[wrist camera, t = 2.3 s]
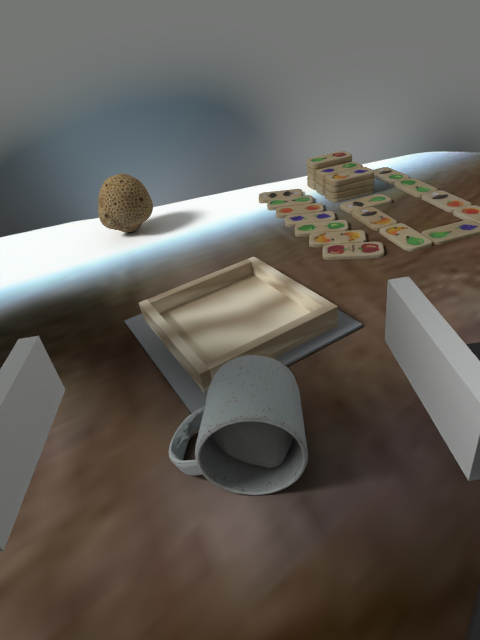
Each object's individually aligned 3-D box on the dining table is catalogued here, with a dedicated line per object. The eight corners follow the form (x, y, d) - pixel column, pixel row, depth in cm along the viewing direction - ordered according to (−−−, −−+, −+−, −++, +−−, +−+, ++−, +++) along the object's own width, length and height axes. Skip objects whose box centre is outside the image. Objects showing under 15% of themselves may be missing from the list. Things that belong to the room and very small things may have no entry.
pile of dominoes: (253, 199, 84) (250, 170, 81) (380, 170, 88) (381, 141, 85) (335, 278, 56) (334, 238, 53) (516, 229, 60) (525, 189, 57)
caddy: (144, 319, 52) (138, 302, 51) (255, 272, 58) (253, 256, 56) (204, 393, 40) (199, 374, 39) (337, 325, 46) (337, 306, 45)
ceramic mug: (301, 408, 37) (293, 337, 33) (312, 493, 31) (304, 417, 26) (181, 419, 39) (158, 352, 34) (166, 503, 32) (136, 433, 28)
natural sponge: (169, 223, 78) (156, 166, 72) (137, 244, 72) (120, 184, 66) (131, 219, 82) (115, 166, 77) (98, 239, 76) (78, 183, 71)
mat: (125, 322, 53) (124, 320, 52) (262, 265, 60) (262, 264, 60) (193, 415, 38) (192, 413, 38) (362, 326, 46) (362, 324, 45)
